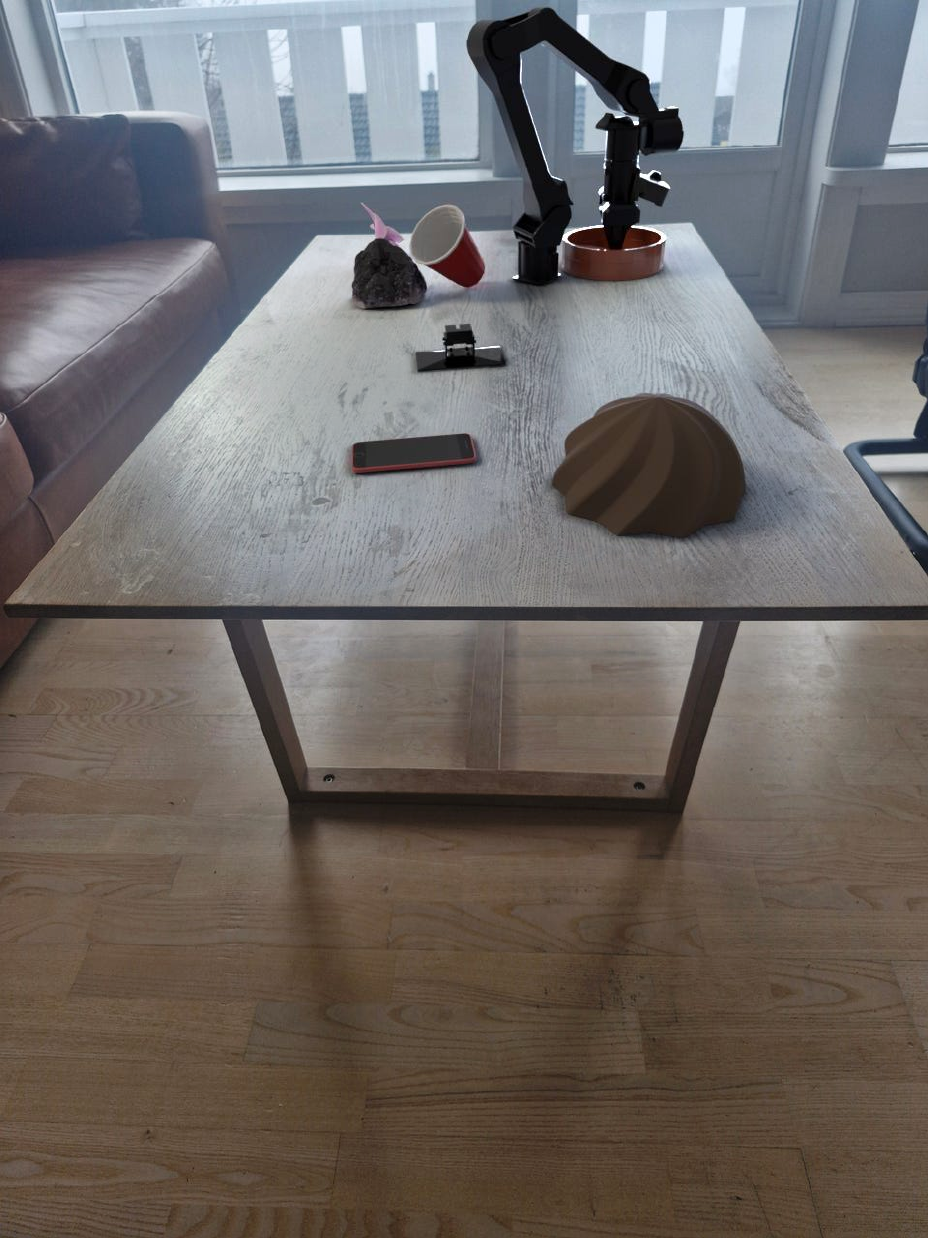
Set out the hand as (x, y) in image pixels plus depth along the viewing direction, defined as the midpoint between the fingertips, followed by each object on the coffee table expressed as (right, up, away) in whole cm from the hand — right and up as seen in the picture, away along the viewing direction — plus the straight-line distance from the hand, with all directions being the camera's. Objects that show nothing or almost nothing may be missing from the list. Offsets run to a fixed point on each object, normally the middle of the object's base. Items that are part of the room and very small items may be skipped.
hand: (614, 255), depth 146 cm
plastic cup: (-26, -6, -6) cm, 28 cm away
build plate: (-28, -30, -32) cm, 53 cm away
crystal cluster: (-41, -12, -9) cm, 43 cm away
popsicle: (-1, -1, +1) cm, 2 cm away
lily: (-43, +5, +13) cm, 45 cm away
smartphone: (-34, -48, -55) cm, 81 cm away
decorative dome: (-9, -53, -63) cm, 83 cm away
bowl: (0, -1, +1) cm, 2 cm away
